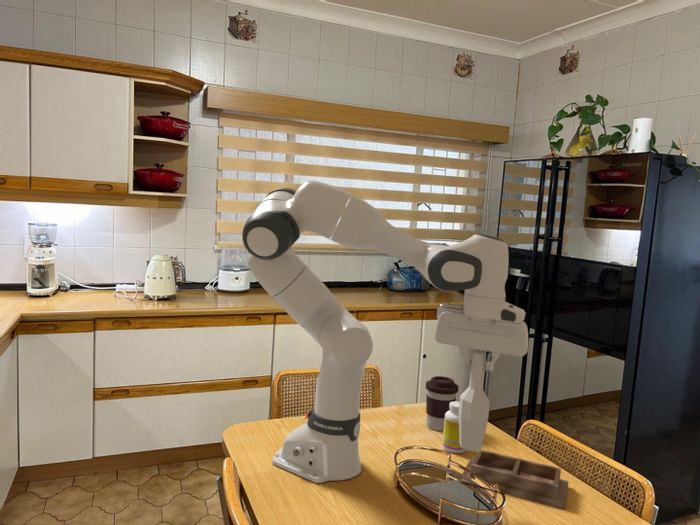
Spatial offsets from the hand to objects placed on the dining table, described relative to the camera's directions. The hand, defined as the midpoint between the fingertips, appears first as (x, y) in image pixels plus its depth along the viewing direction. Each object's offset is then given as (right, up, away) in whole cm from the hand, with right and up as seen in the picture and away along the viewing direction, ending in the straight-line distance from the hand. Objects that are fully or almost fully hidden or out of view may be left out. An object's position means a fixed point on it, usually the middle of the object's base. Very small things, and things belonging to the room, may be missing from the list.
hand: (477, 368), depth 123 cm
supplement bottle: (0, -28, +30) cm, 42 cm away
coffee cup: (-2, -27, +45) cm, 53 cm away
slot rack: (+12, -31, +12) cm, 35 cm away
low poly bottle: (-1, -18, +2) cm, 18 cm away
